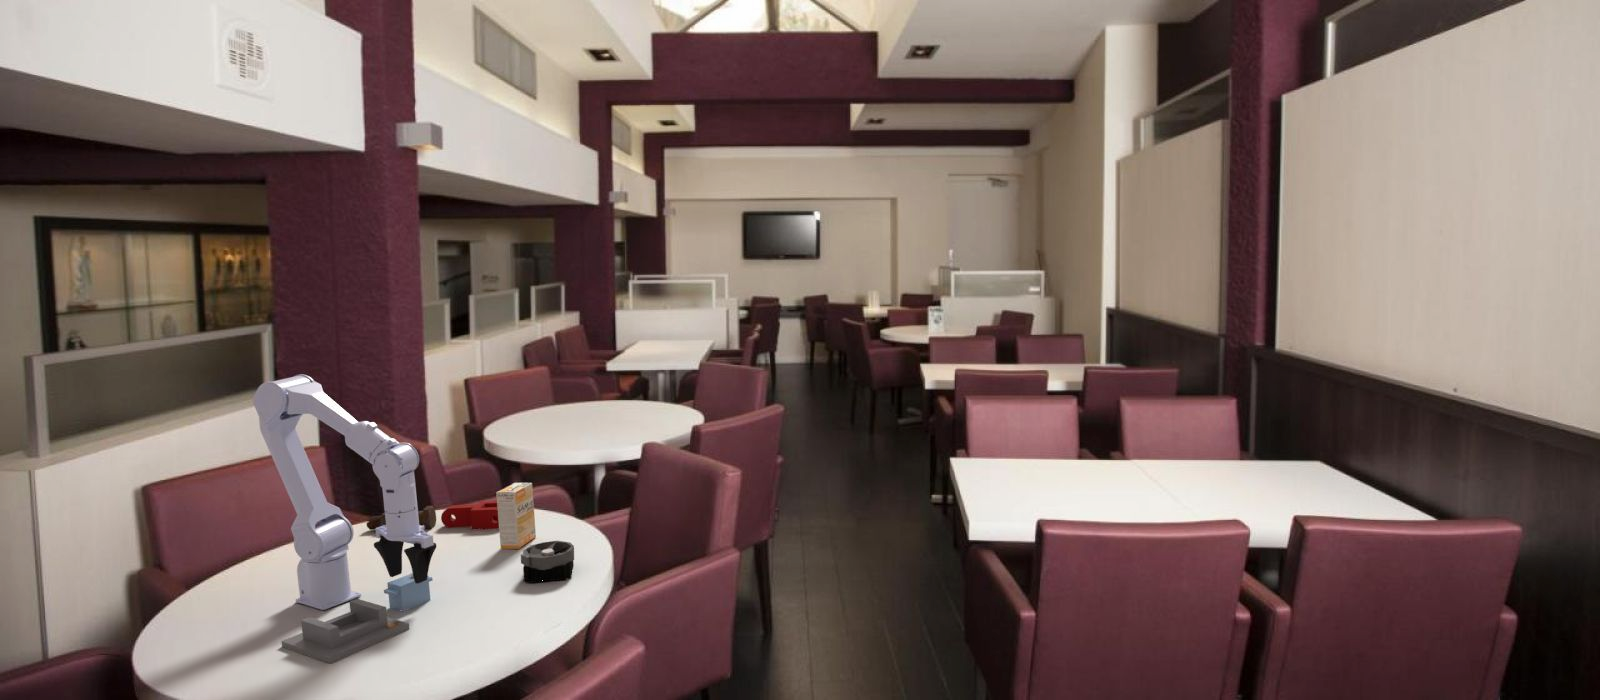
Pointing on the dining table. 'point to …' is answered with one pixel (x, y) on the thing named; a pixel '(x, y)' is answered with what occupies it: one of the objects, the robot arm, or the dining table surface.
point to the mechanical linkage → (472, 516)
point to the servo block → (407, 592)
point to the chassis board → (345, 632)
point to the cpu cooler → (548, 561)
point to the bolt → (425, 516)
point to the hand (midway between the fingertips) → (408, 578)
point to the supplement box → (516, 515)
